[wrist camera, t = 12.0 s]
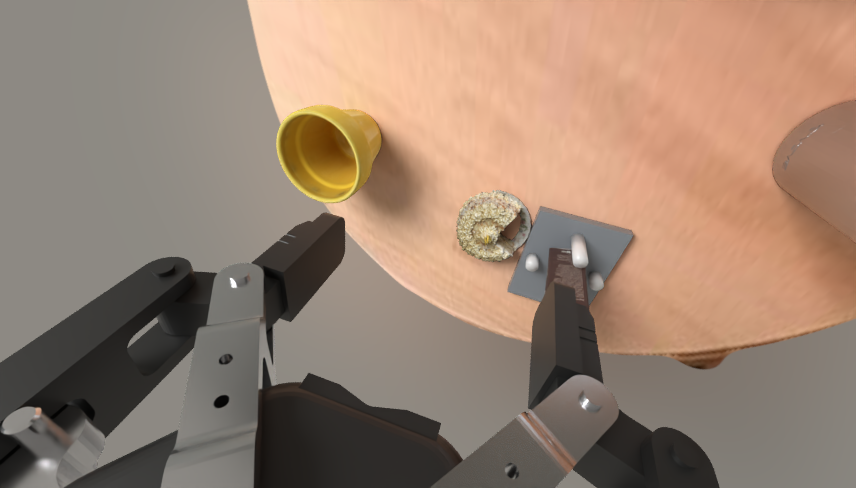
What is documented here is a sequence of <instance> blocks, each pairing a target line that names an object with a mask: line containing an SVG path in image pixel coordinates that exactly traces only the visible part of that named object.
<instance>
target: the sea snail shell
mask: <svg viewBox="0 0 856 488" xmlns="http://www.w3.org/2000/svg"><path fill="white" fill-rule="evenodd" d="M481 193H482V194H481ZM481 193H479V194H478V195H476V196H475V197H470V198H469V200H468V201H466V202H465V203H464V206H463V207H462V208H461V209H460V211H459V212H460V213H459V217H458V218H457V219H458V220H457V224H458V228H457V230H456V231H457V232H458V233H457V239H459V240H460V241H459V244H460V246H462V250H465V252H467V253H468V254H469V255H472V256H474V257H475V258H478V259H482V260H483V261H492V262H494V261H497V260H498V261H499V262H500V261H501V260H504V259H507V258H509V257H510V256H512V257H513V253H514V251H516V249H518V248H519V247H521V246H522V244H523V243H525V241H526V239H527V238H528V236H529V233H530V228H531V223H530V222H531V219H530V216H529V215H530V214H529V212H528V211H527V208H526V207H525V206H524V204H523V203H522V202H521V201H519V199H518V198H517V197H514V196H513V195H511V194H509V193H507V192H504V191H501V190H500V191H499V190H496V191H494V190H493V192H491V193H488V192H487V193H486V192H484V193H483V192H481ZM519 212H520V216H521V225H520V228H519V231H518V233H517V235H516V236H515V237H514V238H513V239H512V240H510V239H507V238H506V237H505V236H503V235H502V234H500V232H501V231H504V229H505V227H506V226H507V225H509V224H510V222H512V221H513V220H514V219H515V218H516V217H517V213H519Z"/></svg>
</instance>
